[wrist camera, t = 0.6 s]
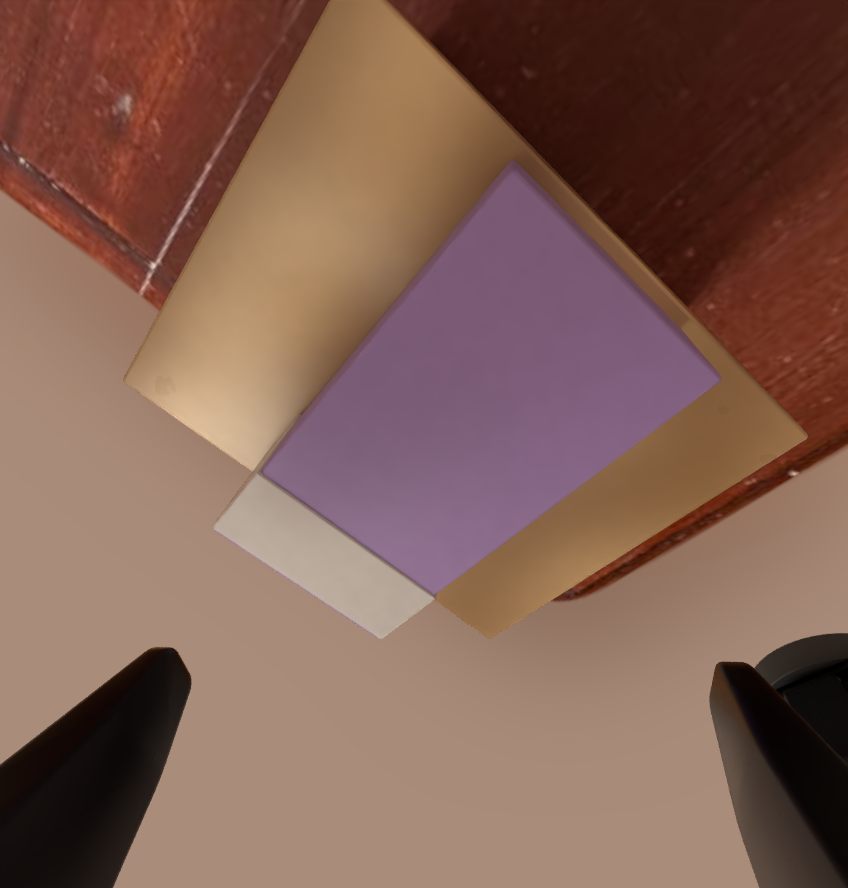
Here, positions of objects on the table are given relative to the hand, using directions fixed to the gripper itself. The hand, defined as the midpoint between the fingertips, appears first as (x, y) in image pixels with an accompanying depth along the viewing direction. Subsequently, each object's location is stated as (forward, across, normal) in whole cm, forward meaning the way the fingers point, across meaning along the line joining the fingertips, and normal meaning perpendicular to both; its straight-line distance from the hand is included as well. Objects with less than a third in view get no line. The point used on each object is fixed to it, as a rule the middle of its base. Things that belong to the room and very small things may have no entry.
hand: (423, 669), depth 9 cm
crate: (+14, 0, -2) cm, 14 cm away
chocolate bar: (+5, 0, -2) cm, 5 cm away
